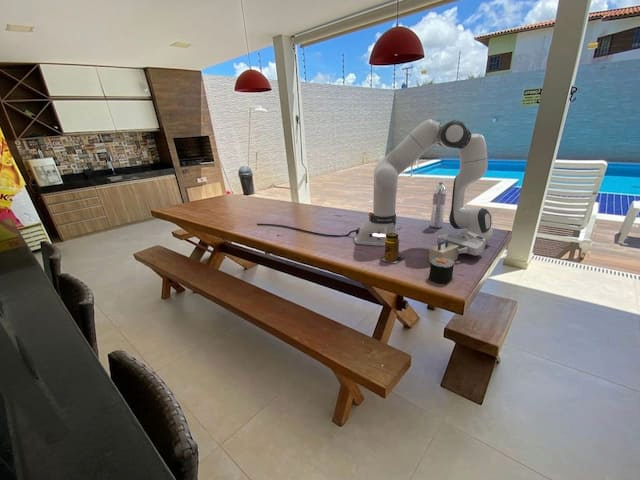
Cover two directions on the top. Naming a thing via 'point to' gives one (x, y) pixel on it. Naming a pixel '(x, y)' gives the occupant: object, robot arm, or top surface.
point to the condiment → (392, 248)
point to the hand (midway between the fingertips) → (448, 248)
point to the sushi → (441, 270)
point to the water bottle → (438, 206)
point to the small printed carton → (444, 251)
